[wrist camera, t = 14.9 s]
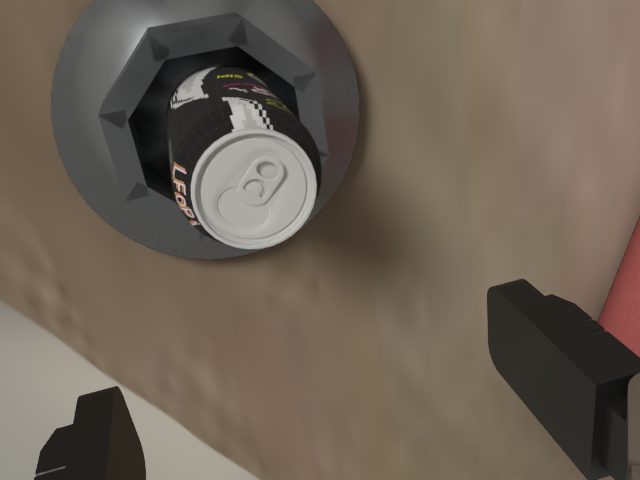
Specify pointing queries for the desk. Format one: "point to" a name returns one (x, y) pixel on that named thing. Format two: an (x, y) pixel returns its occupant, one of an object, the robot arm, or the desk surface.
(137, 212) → the rosette socket
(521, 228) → the desk surface
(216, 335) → the desk surface
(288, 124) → the beverage can
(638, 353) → the blood vessel
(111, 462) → the robot arm
